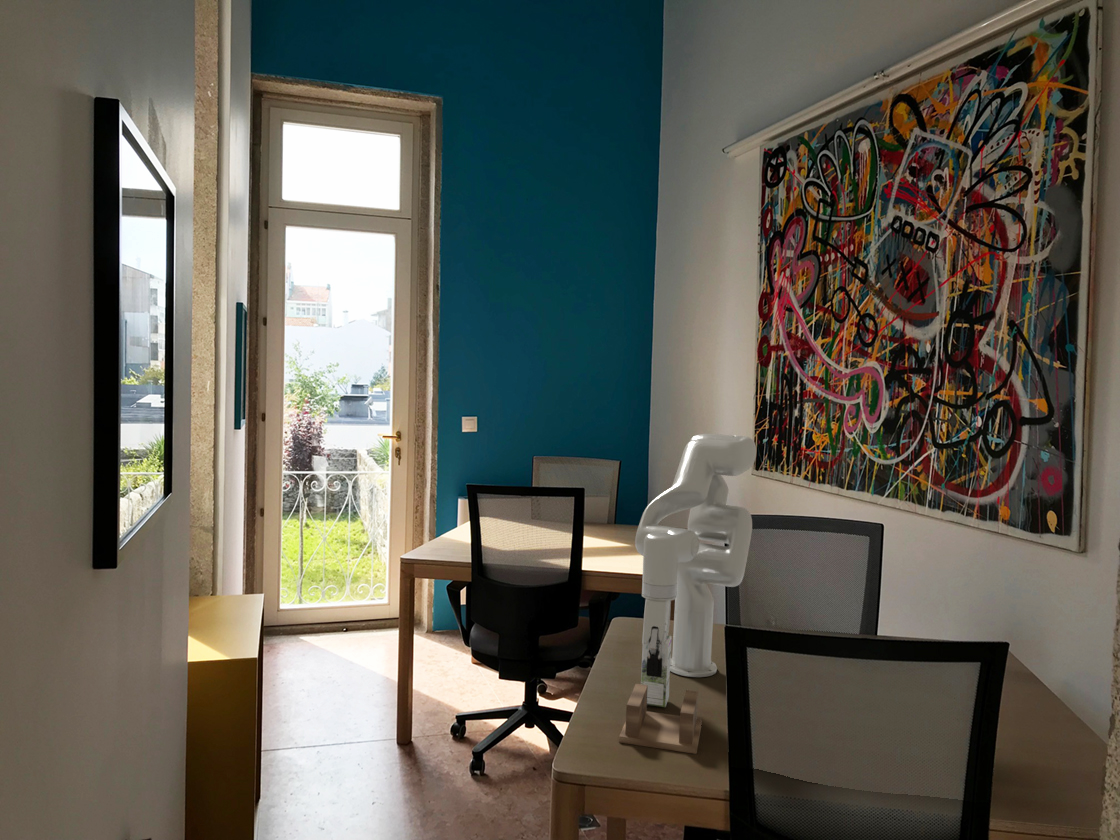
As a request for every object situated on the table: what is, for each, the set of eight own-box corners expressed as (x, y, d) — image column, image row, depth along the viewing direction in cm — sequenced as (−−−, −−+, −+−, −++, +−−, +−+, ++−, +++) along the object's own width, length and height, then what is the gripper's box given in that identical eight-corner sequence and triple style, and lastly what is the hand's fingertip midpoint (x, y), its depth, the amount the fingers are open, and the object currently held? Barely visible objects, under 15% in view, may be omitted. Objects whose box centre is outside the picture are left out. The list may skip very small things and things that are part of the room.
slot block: (630, 714, 172) (631, 681, 172) (701, 724, 168) (703, 690, 168) (619, 742, 158) (620, 706, 158) (696, 753, 155) (698, 716, 155)
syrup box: (669, 698, 181) (672, 634, 180) (665, 708, 175) (668, 642, 174) (644, 694, 182) (646, 631, 181) (639, 704, 176) (642, 639, 175)
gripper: (647, 578, 186) (644, 655, 187) (636, 598, 169) (632, 682, 171) (680, 581, 184) (677, 659, 185) (672, 602, 168) (668, 687, 169)
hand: (655, 669), depth 178 cm, fingers closed on syrup box, 5 cm apart
